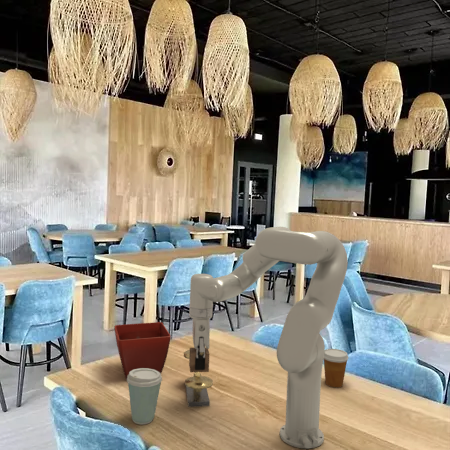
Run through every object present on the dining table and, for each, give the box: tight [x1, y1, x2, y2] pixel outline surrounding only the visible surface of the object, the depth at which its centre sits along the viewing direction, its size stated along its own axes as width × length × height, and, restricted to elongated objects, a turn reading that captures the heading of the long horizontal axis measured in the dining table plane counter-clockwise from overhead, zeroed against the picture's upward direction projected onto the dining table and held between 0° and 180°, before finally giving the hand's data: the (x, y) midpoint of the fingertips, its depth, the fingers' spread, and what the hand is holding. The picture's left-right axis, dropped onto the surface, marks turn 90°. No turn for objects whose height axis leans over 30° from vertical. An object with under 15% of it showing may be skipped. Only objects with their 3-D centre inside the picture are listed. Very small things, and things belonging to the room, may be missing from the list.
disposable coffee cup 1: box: [126, 368, 163, 425], centre depth 135 cm, size 11×11×15 cm
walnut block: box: [188, 347, 210, 373], centre depth 146 cm, size 6×6×6 cm
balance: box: [183, 349, 214, 408], centre depth 154 cm, size 23×9×12 cm, turn 8°
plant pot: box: [114, 321, 171, 381], centre depth 170 cm, size 19×19×17 cm
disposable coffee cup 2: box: [323, 348, 350, 388], centre depth 166 cm, size 10×10×12 cm
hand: (198, 365), depth 146 cm, fingers closed on walnut block, 6 cm apart
